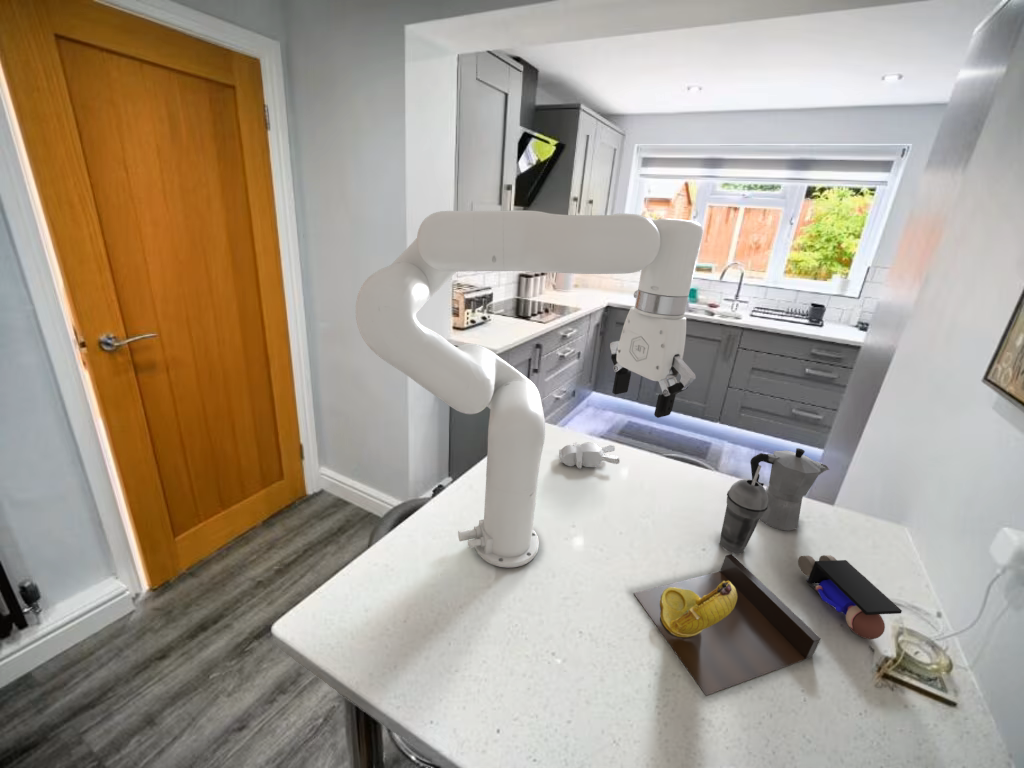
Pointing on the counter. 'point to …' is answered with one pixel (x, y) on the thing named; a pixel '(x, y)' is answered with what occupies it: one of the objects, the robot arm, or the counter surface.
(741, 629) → the dark wood ledge tray
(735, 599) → the yellow ribbed curl ornament
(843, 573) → the figurine character
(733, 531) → the beverage cup
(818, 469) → the coffeepot
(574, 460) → the bunny figurine
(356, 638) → the counter surface
